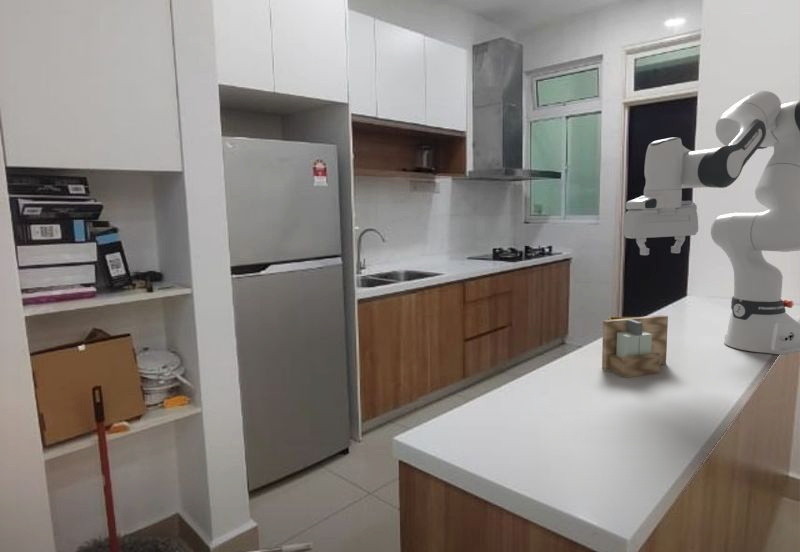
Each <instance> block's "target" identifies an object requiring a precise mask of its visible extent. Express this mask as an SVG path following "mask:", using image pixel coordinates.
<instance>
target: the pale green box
mask: <svg viewBox="0 0 800 552" xmlns="http://www.w3.org/2000/svg"><path fill="white" fill-rule="evenodd" d="M651 343H652V334H650V333H647V332H644V331H642V323H641V322H638V321H635V320H632V319H630V320H627V332H621V333H617V352H616V355H617V356H619V357H621V358H622V357H623V356H633V355H642V354H651Z"/></svg>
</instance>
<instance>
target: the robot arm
mask: <svg viewBox="0 0 800 552" xmlns="http://www.w3.org/2000/svg"><path fill="white" fill-rule="evenodd" d="M715 134H716V137H717V139H718V140H719V141H720V143H721V144H722V145H724V146H718V147H714V148H706V149H699V150H697V149H696V150H691V149H688V148H687V147H685V146H684V145H683V142H682V139H681V137H677V136H676V137H674V136H673V137H668V138H667V137H666V138H663V139H658V140H654V141H651V142H650V143H649V144H648V146H647V148H646V152H645V159H644V178H645V185H644V187H643V188H644V189H643V195H640V196H639V197H635V198H634V199H630V200H628V201H627V202H626V203H625V209H626V210H627V211H626V212H625V214H624V217H623V229H622V232H623V236H624V238H626V239H635V242H636V245H637V246H638V248H639V255H640V256H648V255H650V248H648V247H647V245H646V244H645V243H646V242H647V238H648V239H649V238H652V239H653V238H668V237H669V238H670V237H674V240H675V241H674V245H672V246H670V253H671V254H680V253H681V247H683V244H684V243H685V241H686V237H688V236H695V235H697V233H698V232H699V219H698V217H699V216H698V212H697V211H698V210H697V209H698V208H697V205H696V203H695V202H694V201H692V200H682V198H683V197H682V196H683V194H682V192H683V190H682V189H696V188H697V189H698V188H714V189H715V188H720V189H725V188H727V187H729V186H731V185H732V184H734V182H736V180H737V179H738V178H739V176H740V175H741V173H742V170H743V169H744V166H745V165H746V164H747V162H748V161H749V160H750V159H751V157H752V156H753V155H755V153H756V152H757V151H758V150H761V149H762V150H764V149H767V148H771V147H773V154H772V155H771V157H770V159H769V160H768V162H767V163H766V166H765V167H764V170H763V172H762V175H761V176H760V178H759V180H758V183H757V185H756V188H755V191H754V196H755V199H756V200H757V202H758V203H760V205H762V206H763V207H765V208H767V209H766V210H765V211H764V210H763V211H735V212H729V213H723V214H719V215H718V216H717V217H716V218H715V219H714V220H713V222H712V225H711V227H710V236H711V238H712V241H713V242H714V244H716V246H718V247H719V248H720V249H722V251H723V252H724V253H725V255H726V256H727V257H728V259H729V261H730V262H731V263H730V264H731V266H732V269H733V280H734V281H733V296H732V297H731V302H730V303H731V304H730V305H731V306H730V308H731V311H732V312H731V313H730V316H729V322H728V327H727V333H726V334H725V336H724V344H725V345H726V346H728V347H731V348H733V349H738V350H741V351H747V352H753V353H765V354H773V355H781V356H785V355H786V356H787V355H790V354H794V353H795V354H796V353H799V352H800V322H798V321H797V320H796V319H794V318H793V317H791V315H789V313H787V311H786V308H788V309H789V308H790V309H792V308H793V307H794V305H795V303H794V301H792V300H787V299H784V300H783V299H782V291H783V290H782V289H783V272H781V270H780V269H779V268H778V267H777V266H775V265H773V264H772V263H770V262H768V261H767V260H766V259H765V257H764V255H763V251H765V252H780V253H781V252H782V253H786V252H798V251H800V99H798V100H792V101H789V102H786V103H782V102H781V99H780V98H779V97H778V95H777V94H776V93H774V92H771V91H767V90H760V91H757V92H756V91H755V92H754V93H751V94H748V95H747V96H745V97H744V98H742V99H740V100H739V101H737V102H736V103H734V104H733V105H731V107H729V108H728V109H727V110H726V111H724V113H722V115H721V116H720V117H719V118H718V119H717V121H716V124H715Z"/></svg>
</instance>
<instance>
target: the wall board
mask: <svg viewBox="0 0 800 552" xmlns="http://www.w3.org/2000/svg"><path fill="white" fill-rule="evenodd" d="M635 317H636V318H624V319H613V320H608V319H606V320H605V319H604V320H602V352H601V353H602V356H601V357H602V358H601V359H602V360H601V369H602V370H604V371H609V372H612V373H614V374H616V375H618V376H620V377H622V378H624V379H625V378H633V377H640V376H641V377H642V376H650V375H659V374H660V365H665V364H667V348H668V347H667V346H668V326H669V325H668V323H669V322H668V321H669V316H668V315H665V314H658V315H648V316H639V317H638V316H635ZM630 319H632V320H635V321H638V322H641V323H642V331H644V332H647V333H650V334H652V343H651V354H642V355H633V356H623V357H622V358H621V357H619V356H617V355H616V352H617V333H621V332H627V320H630Z"/></svg>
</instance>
